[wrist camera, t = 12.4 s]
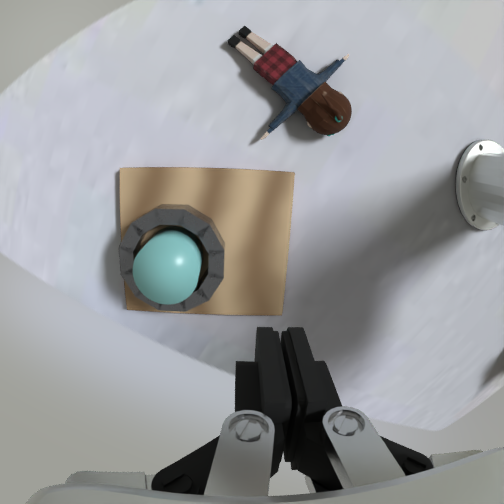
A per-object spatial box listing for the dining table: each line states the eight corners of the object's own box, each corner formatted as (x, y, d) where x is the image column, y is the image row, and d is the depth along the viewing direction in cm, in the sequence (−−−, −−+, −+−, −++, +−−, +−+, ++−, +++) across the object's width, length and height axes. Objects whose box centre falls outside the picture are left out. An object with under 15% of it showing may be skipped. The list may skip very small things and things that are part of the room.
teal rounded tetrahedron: (203, 226, 33) (198, 241, 27) (203, 281, 34) (198, 305, 29) (146, 225, 32) (130, 240, 26) (149, 279, 34) (135, 302, 28)
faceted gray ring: (226, 205, 32) (226, 210, 29) (223, 300, 35) (222, 313, 32) (126, 203, 31) (117, 208, 28) (131, 296, 34) (124, 308, 31)
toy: (192, 83, 30) (295, 174, 33) (184, 70, 26) (304, 174, 28) (278, 6, 28) (376, 91, 31) (283, -14, 23) (394, 81, 26)
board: (292, 172, 33) (294, 172, 32) (280, 311, 37) (281, 315, 36) (122, 167, 31) (119, 168, 30) (129, 305, 36) (127, 309, 35)
